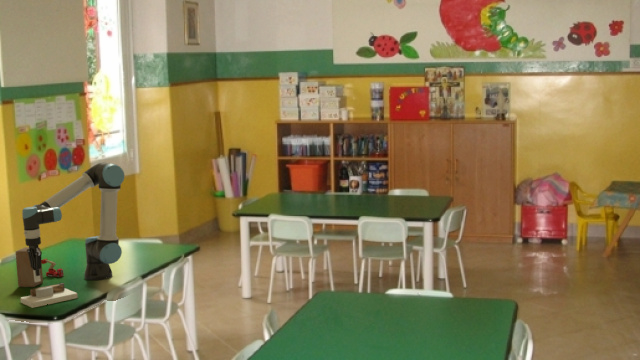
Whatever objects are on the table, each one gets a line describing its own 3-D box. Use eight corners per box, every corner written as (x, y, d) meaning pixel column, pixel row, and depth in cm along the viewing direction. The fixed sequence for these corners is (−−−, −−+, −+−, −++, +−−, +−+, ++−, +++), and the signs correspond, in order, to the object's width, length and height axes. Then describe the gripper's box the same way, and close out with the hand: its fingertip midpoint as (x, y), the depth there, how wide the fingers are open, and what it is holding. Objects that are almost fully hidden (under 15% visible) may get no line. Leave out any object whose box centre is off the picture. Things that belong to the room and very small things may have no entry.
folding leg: (63, 288, 447) (62, 282, 447) (65, 290, 445) (65, 283, 444) (30, 295, 437) (30, 288, 436) (32, 296, 435) (32, 290, 434)
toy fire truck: (61, 277, 483) (59, 260, 482) (40, 276, 488) (39, 259, 486) (64, 276, 486) (63, 259, 485) (44, 274, 491) (43, 258, 489)
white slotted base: (65, 292, 450) (64, 280, 449) (77, 297, 439) (76, 285, 439) (20, 302, 434) (19, 289, 433) (32, 307, 424) (31, 295, 423)
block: (34, 287, 462) (31, 251, 460) (17, 287, 464) (14, 251, 462) (43, 282, 472) (41, 247, 469) (27, 282, 474) (24, 247, 471)
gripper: (20, 236, 444) (25, 281, 448) (31, 240, 435) (36, 285, 439) (34, 234, 449) (39, 277, 453) (45, 237, 440) (50, 282, 444)
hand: (37, 281), depth 446 cm, fingers closed
